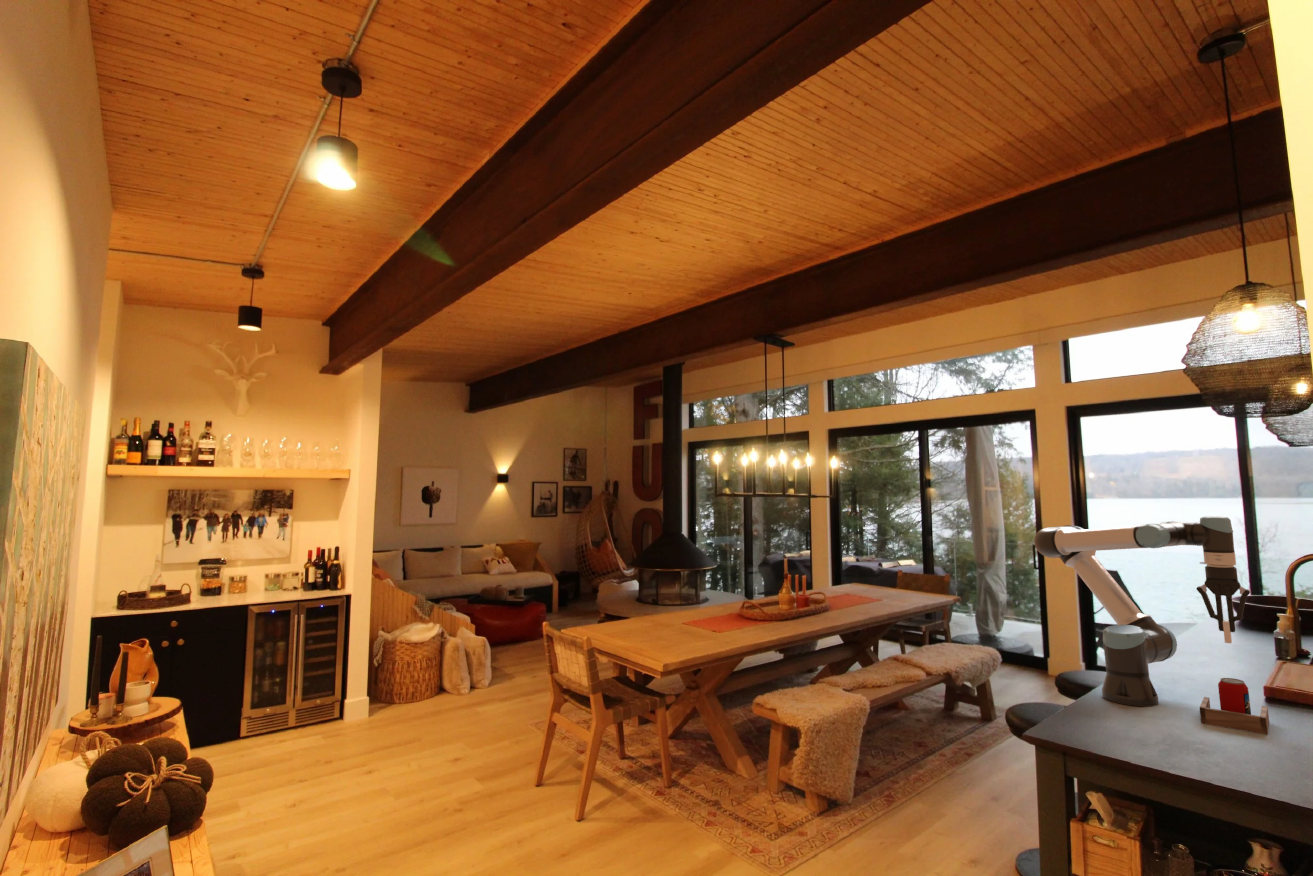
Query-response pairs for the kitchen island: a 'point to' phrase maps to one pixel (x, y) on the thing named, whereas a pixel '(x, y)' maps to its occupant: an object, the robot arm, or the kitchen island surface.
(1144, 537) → the robot arm
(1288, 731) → the kitchen island surface
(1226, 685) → the beverage can
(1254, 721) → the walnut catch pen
